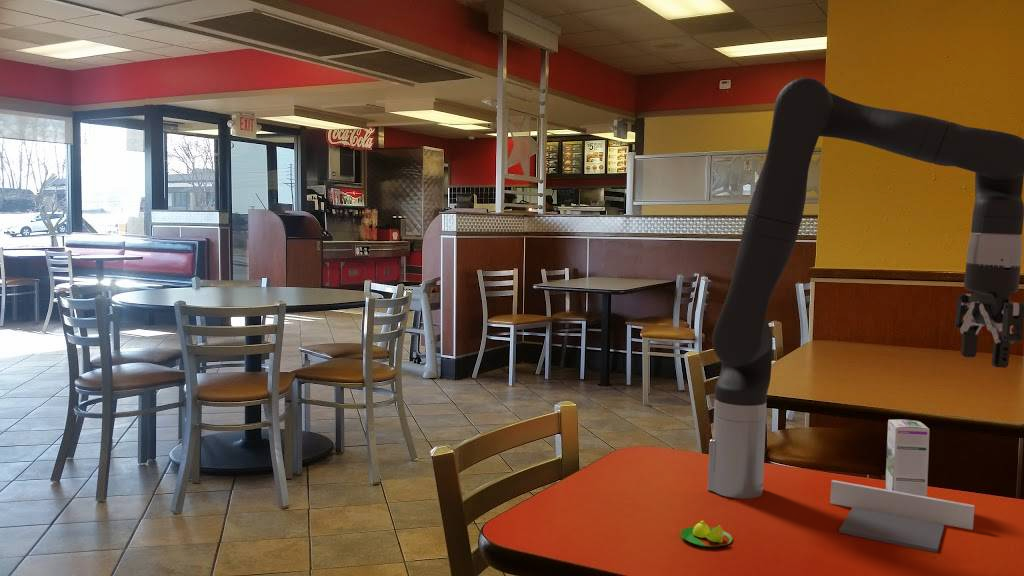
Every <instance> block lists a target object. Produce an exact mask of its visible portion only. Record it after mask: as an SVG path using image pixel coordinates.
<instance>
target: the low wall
mask: <svg viewBox="0 0 1024 576" xmlns="http://www.w3.org/2000/svg"><path fill="white" fill-rule="evenodd" d="M829 500H830V501H829V504H832V505H837V506H843V507H847V508H851V509H852V508H853V507H854V508H860V509H865V510H870V511H875V512H880V513H886V514H891V515H896V516H901V517H906V518H911V519H917V520H922V521H927V522H932V523H937V524H942V525H944V526H950V527H957V528H960V529H966V530H971V531H972V530H974V522H975V521H974V520H975V505H974V504H969V503H963V502H960V501H959V502H958V501H952V500H948V499H940V498H937V497H936V498H935V497H930V496H927V497H925V496H920V495H914V494H908V493H903V492H897V491H892V490H886V489H885V488H880V487H874V486H868V485H863V484H858V483H857V484H856V483H851V482H846V481H841V480H835V479H831V484H830V499H829Z"/></svg>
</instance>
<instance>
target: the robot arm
mask: <svg viewBox="0 0 1024 576" xmlns="http://www.w3.org/2000/svg"><path fill="white" fill-rule="evenodd" d="M820 137H825V138H835V139H840V140H846V141H851V142H856V143H860V144H864V145H868V146H871V147H874V148H878V149H880V150H884V151H886V152H890V153H893V154H897V155H900V156H902V157H906V158H911V159H914V160H917V161H922V162H925V163H928V164H933V165H937V166H941V167H954V168H958V169H959V168H960V169H963V170H966V171H968V172H969V171H970V172H973V173H974V174H975V176H974V188H975V189H974V194H975V197H974V198H975V200H974V201H975V202H974V205H973V210H972V219H971V227H970V236H969V240H968V244H967V245H968V246H967V251H966V252H967V253H966V261H965V262H966V263H965V271H964V282H963V283H964V284H963V288H964V289H965V290H967V291H971V293H959V294H958V295H957V303H956V311H955V317H954V328H955V329H959V333H960V334H961V335H962V337H961V349H960V356H962V357H964V358H975V357H977V352H978V351H977V350H978V339H979V335H978V334H979V332H980V331H981V330H982V327H984V326H986V329H987V331H989V332H991V334H992V338H993V340H994V342H993V345H992V355H991V366H992V367H994V368H1000V369H1001V368H1002V369H1004V368H1007V367H1009V363H1010V362H1009V361H1010V352H1011V345H1012V344H1014V343H1016V342H1017V343H1018V342H1019V343H1021V342H1022V340H1023V332H1024V331H1023V329H1024V303H1023V302H1011V294H1017V293H1018V292H1019V287H1020V286H1019V285H1020V279H1021V278H1020V276H1021V268H1022V266H1021V265H1022V260H1023V259H1022V256H1023V228H1024V201H1023V199H1022V198H1023V197H1022V195H1023V189H1024V187H1023V186H1024V138H1023V137H1020V136H1019V135H1016V134H1012V133H1008V132H1003V131H997V130H993V129H987V128H978V127H971V126H965V125H963V124H958V123H956V122H953V121H949V120H945V119H940V118H937V117H933V116H927V115H925V114H924V115H923V114H918V113H913V112H907V111H902V110H892V109H886V108H879V107H874V106H869V105H865V104H861V103H858V102H856V101H855V102H854V101H851V100H849V99H847V98H844V97H841V96H839V95H837V94H835V93H832V92H831V91H830V90H829V89H828V87H826V86H825V84H823V83H822V82H821V81H819V80H817V79H815V78H812V77H800V78H797V79H794V80H792V81H790V82H789V83H787V84H786V85H784V87H782V88H781V90H780V91H779V92H778V95H777V96H776V99H775V103H774V109H773V115H772V122H771V129H770V136H769V140H768V141H769V142H768V146H767V151H766V156H765V159H764V163H763V165H762V168H761V171H760V173H759V176H758V179H757V182H756V185H755V188H754V190H753V194H752V197H751V200H750V203H749V206H748V209H747V212H746V217H745V220H744V224H743V228H742V233H741V238H740V241H739V245H738V250H737V254H736V258H735V262H734V267H733V272H732V278H731V282H730V286H729V289H728V292H727V295H726V298H725V299H724V302H723V305H722V308H721V311H720V313H719V315H718V318H717V319H716V320H717V321H716V323H715V326H714V329H713V332H712V336H711V341H712V342H711V344H712V348H713V351H714V354H715V356H716V357H717V358H718V360H719V361H721V366H720V367H721V368H720V372H719V376H718V379H717V380H716V383H715V386H714V406H713V407H714V408H713V431H712V432H713V433H712V434H713V435H712V436H713V437H712V438H711V439H709V443H708V466H707V467H708V468H707V491H711V492H714V493H716V494H717V495H720V496H723V497H726V498H727V497H728V498H732V499H754V498H758V497H759V498H760V497H761V496H762V495H763V490H764V487H763V486H764V469H765V468H764V467H765V466H764V464H765V443H766V442H765V441H766V422H767V421H766V420H767V398H768V391H769V388H770V387H769V386H770V385H771V379H772V378H771V376H772V361H773V347H774V346H773V345H774V342H773V339H774V337H773V333H772V332H773V331H772V329H771V327H770V325H769V323H768V321H767V320H766V316H767V311H768V308H769V303H770V299H771V297H772V294H773V292H774V290H775V287H776V286H777V283H778V281H779V280H780V278H781V276H782V275H783V272H784V271H785V268H786V266H787V264H788V263H789V261H790V258H791V256H792V254H793V251H794V248H795V246H796V241H797V239H798V234H799V231H800V228H801V224H802V221H803V216H804V211H805V206H806V205H805V204H806V197H807V187H808V179H809V177H808V175H809V170H810V165H811V162H812V157H813V154H814V152H815V148H816V146H817V143H818V140H819V138H820ZM1013 327H1014V333H1013V331H1012V329H1013Z"/></svg>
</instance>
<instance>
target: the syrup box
mask: <svg viewBox="0 0 1024 576" xmlns="http://www.w3.org/2000/svg"><path fill="white" fill-rule="evenodd" d="M886 436H887V438H886V439H887V441H886V460H885V461H886V462H885V463H886V465H885V485H884V486H885V487H884V489H886V490H892V491H897V492H903V493H908V494H914V495H920V496H925V497H928V478H929V477H928V476H929V475H928V474H929V455H930V453H929V452H930V428H929V427H928V426H926V425H925V424H924V423H922V422H921V421H919V420H913V419H900V418H899V419H888V421H887V435H886Z"/></svg>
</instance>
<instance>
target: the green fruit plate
mask: <svg viewBox="0 0 1024 576" xmlns="http://www.w3.org/2000/svg"><path fill="white" fill-rule="evenodd" d="M679 534H680V537H682V539H683V540H685V541H687V542H689V543H691V544H693V545H695V546H699V547H704V548H705V547H706V548H718V547H719V548H720V545H706V544H705V543H704V542H703V541H701V540H700V539H698V538H701V539H703V538H704V539H707V540H708V541H710V542H711V543H719V544H721V546H726V545H729V544H730V543H731V542H732V541H733V537H732V535H731V534H730V533H728V532H727V531H725V530H723V527H722V526H721V525H717V526H716V527H712V526H709V525H708V524H706V523H705V521H704V520H700V522H698V523H696V524H694V526H689V527H685V528H683V529H681V531H680V533H679ZM724 536H726V537H727V538H728V539H729V541H728V542H727V543H724V544H722V543H723V542H724V540H723V537H724Z"/></svg>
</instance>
